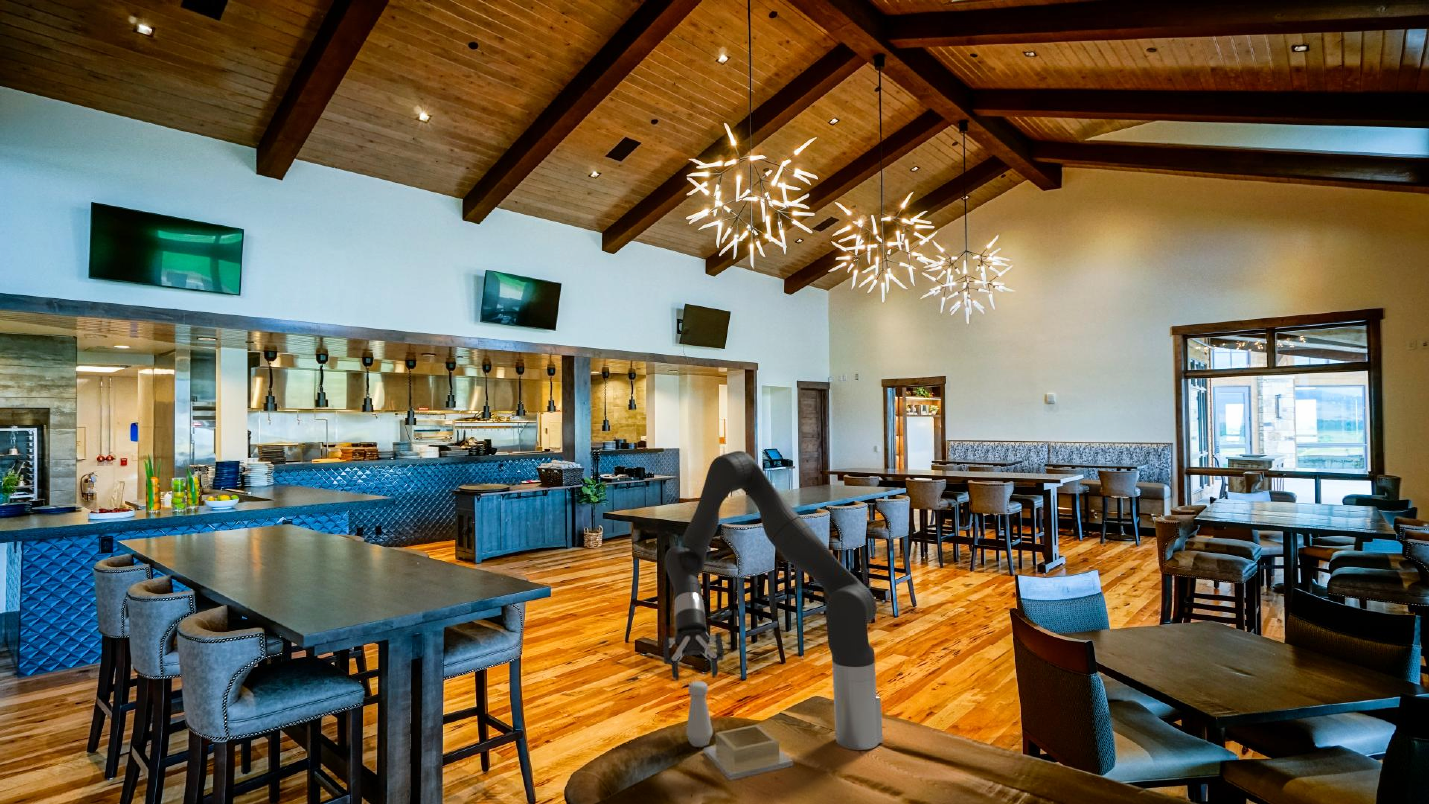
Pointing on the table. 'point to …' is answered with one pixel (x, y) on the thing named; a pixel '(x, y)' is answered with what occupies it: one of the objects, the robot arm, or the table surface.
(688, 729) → the salt shaker
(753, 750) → the beige square open box
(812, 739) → the table surface
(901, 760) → the table surface
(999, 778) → the table surface
